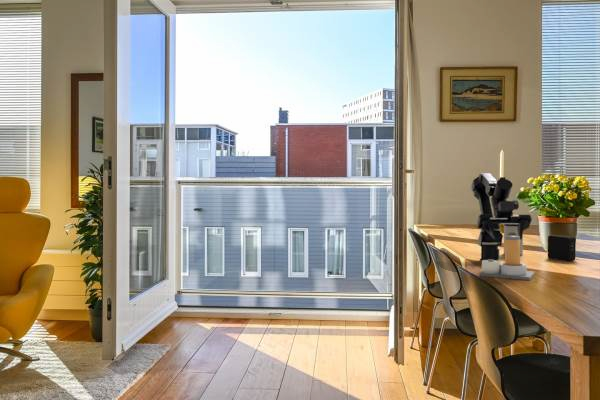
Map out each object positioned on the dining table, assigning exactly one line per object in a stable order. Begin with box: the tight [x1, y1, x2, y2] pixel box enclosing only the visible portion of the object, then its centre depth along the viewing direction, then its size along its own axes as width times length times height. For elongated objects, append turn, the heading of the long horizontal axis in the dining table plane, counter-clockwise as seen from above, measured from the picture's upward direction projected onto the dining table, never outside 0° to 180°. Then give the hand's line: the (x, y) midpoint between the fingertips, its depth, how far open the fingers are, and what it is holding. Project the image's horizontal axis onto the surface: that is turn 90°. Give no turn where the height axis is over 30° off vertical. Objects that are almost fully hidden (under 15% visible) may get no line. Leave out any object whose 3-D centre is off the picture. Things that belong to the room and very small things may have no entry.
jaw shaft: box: [504, 236, 521, 266], centre depth 180 cm, size 5×5×13 cm
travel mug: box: [503, 214, 524, 256], centre depth 229 cm, size 8×8×18 cm
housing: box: [479, 259, 535, 281], centre depth 181 cm, size 16×12×6 cm
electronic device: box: [547, 234, 577, 262], centre depth 213 cm, size 4×10×10 cm, turn 28°
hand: (508, 238), depth 185 cm, fingers open, 9 cm apart
